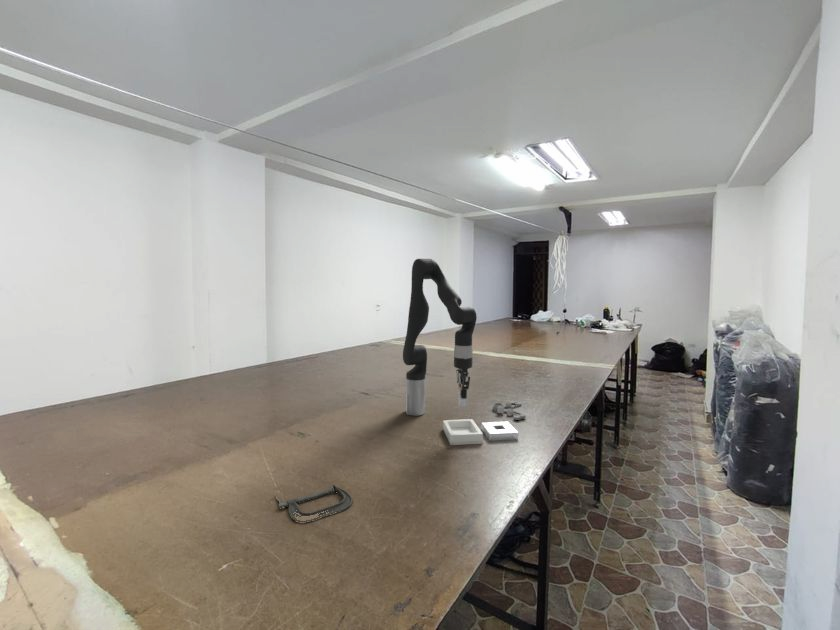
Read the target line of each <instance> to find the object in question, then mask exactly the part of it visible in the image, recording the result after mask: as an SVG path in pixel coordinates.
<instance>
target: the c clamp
mask: <svg viewBox="0 0 840 630" xmlns="http://www.w3.org/2000/svg"><path fill="white" fill-rule="evenodd" d="M336 492H337V493H336ZM328 493H329V494H330V493H335V494H338V493H339V494H340V495H341V496H340V495H339V494H338V495H339V496H340V497H341V499H342V500H341V501H339V502H338V503H334V504H331V505H329V506H326V507H323V508H319V509H318V510H315V511H311V512H303V511H302V510H301V508H300V506H299V504H300V503H299V502H302V503H304V502H303V501H306V500H308V499H311V500H314V499H313V498H315V499H317V498H316V497H318V498H320V497H319V496H321V497H323V496H322V495H324V496H327V495H329V494H328ZM326 494H327V495H326ZM278 501H279V503H278V509H279V508H281V509H284V510H285V508H284V507H286V506H289V507H288V514H290V515H289V517H290V516H291V517H290V519H291V518H292V519H293V520H295V521H298V522H307V521H312V520H316V519H318V518H320V517H324V516H326V515H330V514H333V513H335V512H339V511H342V510H345V509H347V508H348V509H349V508H350V507H352V504H353V501H354V500H353V497H352V496H351V494H350V493H349V492H348V491H346V490H345V489H344V488H343V489H342V488H340V487H337V485H336V484H332V485H331V487H330V488H329V489H325V490H322V491H318V492H315V493H313V494H309V495H306V496H303V497H299V498H291V499H288V500H286V502H281V500H280V499H279V500H278ZM308 501H309V500H308ZM306 502H307V501H306ZM297 503H299V504H297ZM348 509H347V510H348ZM296 510H297V511H296ZM327 510H328V511H327ZM323 511H324V513H321V512H323ZM325 511H326V512H327V513H328V512H329V513H328V514H326V512H325ZM332 511H333V512H332ZM345 511H346V510H345ZM294 512H296V513H299V514H300V515H301V516H310V515H315V514H317V513H318V514H319V513H320V514H319V515H318V516H319V517H317V518H314V519H311V520H306V521H300V520H297V519H296V518H295V517H294V516H295V514H296V513H294ZM342 512H343V511H342ZM293 513H294V514H293ZM339 513H340V512H339ZM323 514H324V515H323ZM320 515H322V516H320ZM333 515H334V514H333ZM297 516H299V515H298V514H296V517H297ZM301 516H299V517H301ZM292 519H291V520H292ZM293 520H292V521H293ZM316 521H317V520H316Z"/></svg>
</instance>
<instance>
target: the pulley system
mask: <svg viewBox="0 0 840 630" xmlns="http://www.w3.org/2000/svg"><path fill="white" fill-rule="evenodd" d="M504 404H505V406H504ZM504 404H503V403H502V402H495V403H493V406H492V410H493V412H495V413H498V414H506V416H509V417H513V420H515V421H516V420H518V421H520V420H523V419H526V418H527V417H526V414H525V413H520V412H518V411H514V409H516V408H518V407H522V402H519V401H518V402H517V401H515V400H511V401H506V402H505V403H504ZM512 405H514V406H512ZM516 405H517V406H516ZM513 408H514V409H513ZM505 409H506V411H505Z"/></svg>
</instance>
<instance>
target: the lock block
mask: <svg viewBox="0 0 840 630" xmlns="http://www.w3.org/2000/svg"><path fill="white" fill-rule="evenodd" d="M480 426H481V427H480V430H481V432H482V433H483V435H485V436H486V438H487V440H488V441H490V442H493V441H494V442H495V441H511V440H512V441H513V440H515V439H516V440H519V432H518V430H517V429H516V428H515V427H514V426H513V425H512V424H511V423H510V422H509V421H489V422H481V423H480Z"/></svg>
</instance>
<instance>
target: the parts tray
mask: <svg viewBox="0 0 840 630" xmlns="http://www.w3.org/2000/svg"><path fill="white" fill-rule="evenodd" d="M442 430H443V432H444V434H445V436H446V439H447V440H448V442H449V444H450V446H458V445H460V446H461V445H479V444H480V445H481V444H484V441H483V440H484V432H483V431H482V430H481V428H480V427H479V426H478V425H477V424H476V422H475V420H474V419H473V418H470V419H469V418H468V419H467V418H463V419H447V420H444V419H443V420H442Z"/></svg>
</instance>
